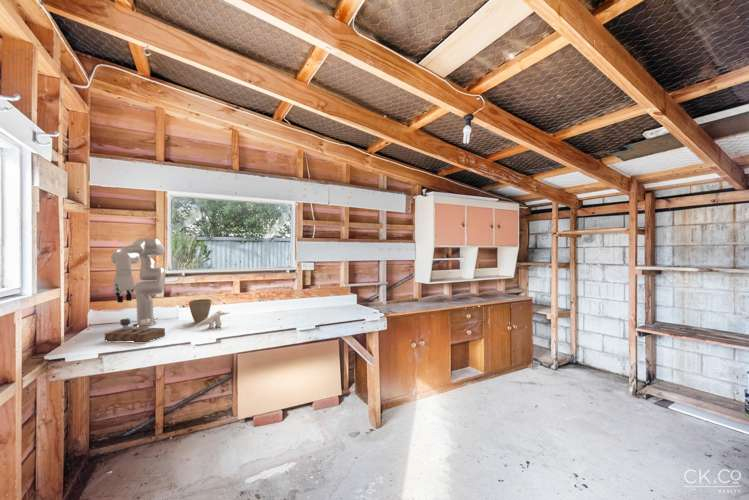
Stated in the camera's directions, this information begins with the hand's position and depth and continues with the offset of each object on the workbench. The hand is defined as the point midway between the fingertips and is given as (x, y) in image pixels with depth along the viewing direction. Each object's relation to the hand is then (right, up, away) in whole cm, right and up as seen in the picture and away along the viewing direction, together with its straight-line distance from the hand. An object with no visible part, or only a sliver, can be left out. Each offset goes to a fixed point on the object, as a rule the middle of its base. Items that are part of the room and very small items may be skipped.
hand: (124, 301), depth 195 cm
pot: (+7, -18, 0) cm, 20 cm away
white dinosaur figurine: (+43, -23, +23) cm, 54 cm away
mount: (+7, -23, 0) cm, 24 cm away
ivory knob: (+14, -19, -1) cm, 24 cm away
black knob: (0, -19, +1) cm, 19 cm away
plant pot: (+25, -22, +40) cm, 52 cm away
